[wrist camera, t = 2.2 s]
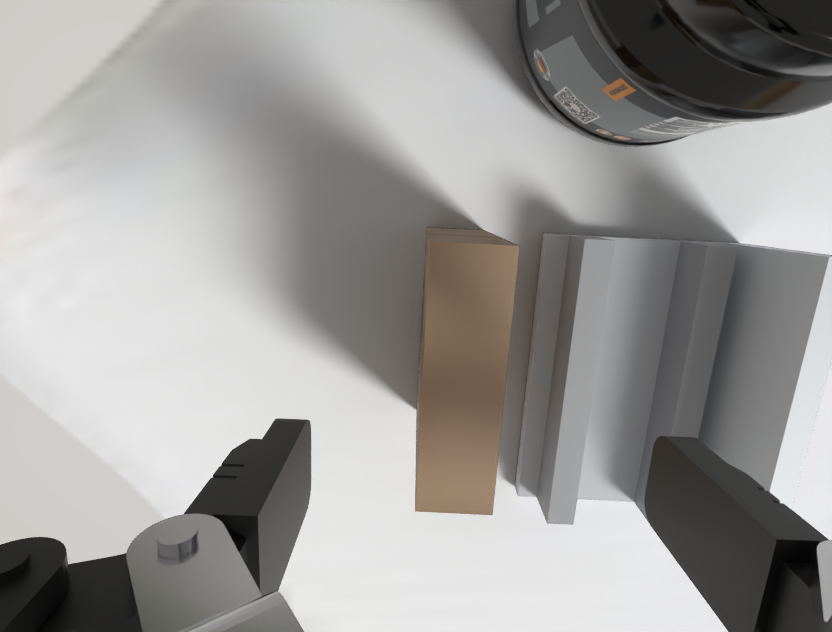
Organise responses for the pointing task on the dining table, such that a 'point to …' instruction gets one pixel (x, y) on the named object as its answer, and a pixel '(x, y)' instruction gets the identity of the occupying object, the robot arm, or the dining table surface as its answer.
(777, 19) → the supplement container
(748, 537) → the robot arm
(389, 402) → the dining table surface
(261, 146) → the dining table surface
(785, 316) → the grey channel holder
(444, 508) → the brown rectangular block
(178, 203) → the dining table surface
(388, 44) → the dining table surface
